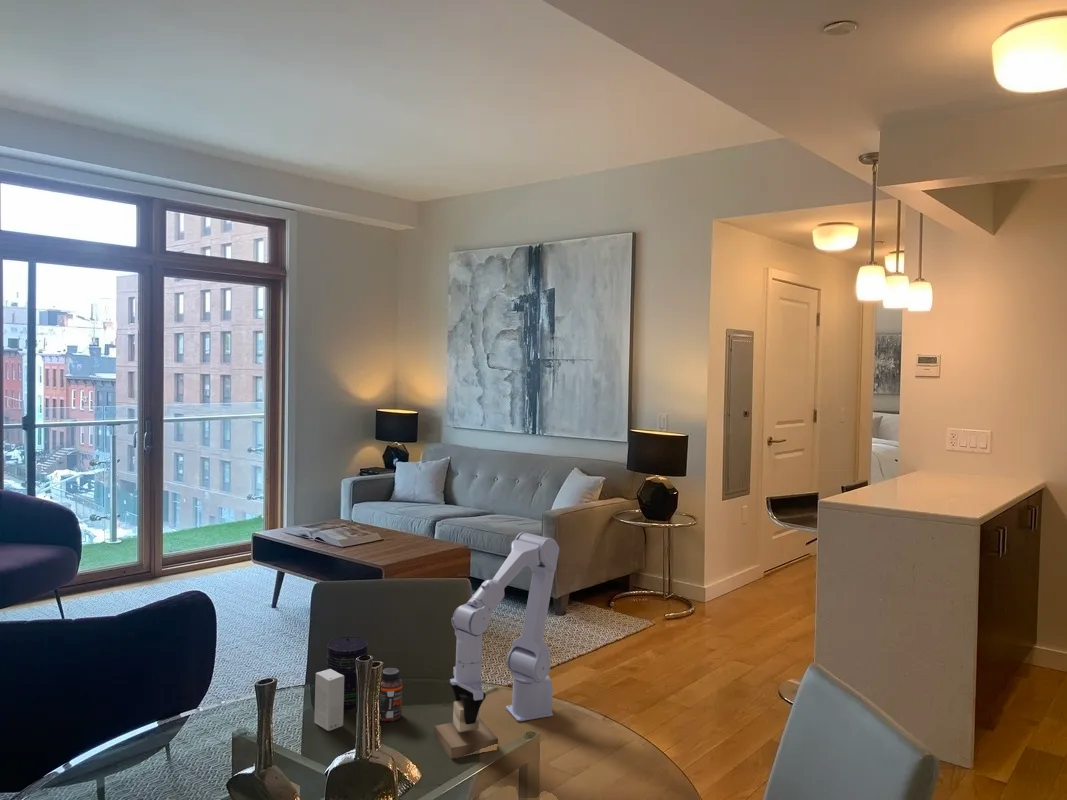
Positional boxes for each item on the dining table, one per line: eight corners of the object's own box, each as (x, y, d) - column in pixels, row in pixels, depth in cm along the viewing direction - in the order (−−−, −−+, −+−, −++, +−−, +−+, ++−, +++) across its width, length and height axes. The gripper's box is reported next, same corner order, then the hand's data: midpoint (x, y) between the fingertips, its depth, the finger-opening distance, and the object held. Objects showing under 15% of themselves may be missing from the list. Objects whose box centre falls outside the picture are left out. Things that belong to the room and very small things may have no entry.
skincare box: (343, 726, 184) (345, 675, 183) (327, 732, 181) (329, 680, 180) (329, 717, 188) (330, 667, 187) (313, 722, 185) (314, 672, 184)
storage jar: (366, 710, 192) (368, 650, 191) (324, 712, 190) (326, 652, 189) (366, 692, 202) (367, 635, 201) (326, 695, 200) (327, 637, 199)
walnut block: (478, 729, 186) (479, 717, 186) (497, 751, 176) (498, 738, 176) (434, 738, 181) (434, 725, 181) (451, 761, 171) (451, 747, 171)
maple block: (471, 719, 181) (472, 698, 181) (478, 728, 177) (479, 707, 177) (452, 723, 179) (453, 701, 179) (459, 732, 175) (460, 710, 175)
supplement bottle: (396, 724, 186) (397, 677, 185) (372, 721, 187) (373, 674, 186) (405, 713, 192) (406, 667, 191) (382, 710, 193) (383, 664, 192)
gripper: (441, 649, 182) (439, 707, 183) (462, 674, 169) (460, 735, 170) (470, 646, 185) (468, 702, 186) (493, 669, 172) (490, 730, 173)
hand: (466, 718), depth 178 cm, fingers closed on maple block, 4 cm apart
